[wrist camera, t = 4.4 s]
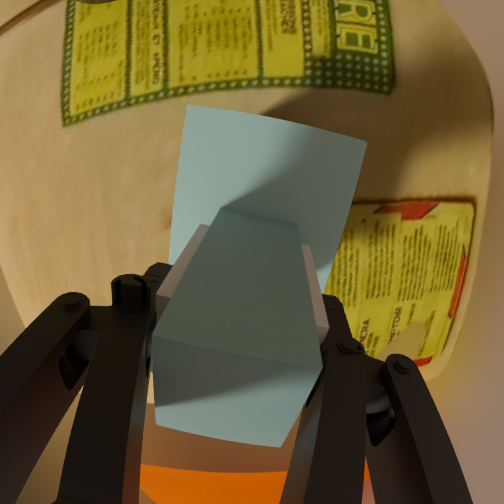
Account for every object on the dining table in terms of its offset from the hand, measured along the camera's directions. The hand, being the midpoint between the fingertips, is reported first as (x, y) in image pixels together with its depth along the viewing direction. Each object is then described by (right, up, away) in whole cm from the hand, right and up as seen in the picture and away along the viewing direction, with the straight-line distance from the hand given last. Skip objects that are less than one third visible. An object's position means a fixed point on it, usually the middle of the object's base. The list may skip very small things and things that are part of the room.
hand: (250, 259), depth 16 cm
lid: (0, +1, +2) cm, 2 cm away
